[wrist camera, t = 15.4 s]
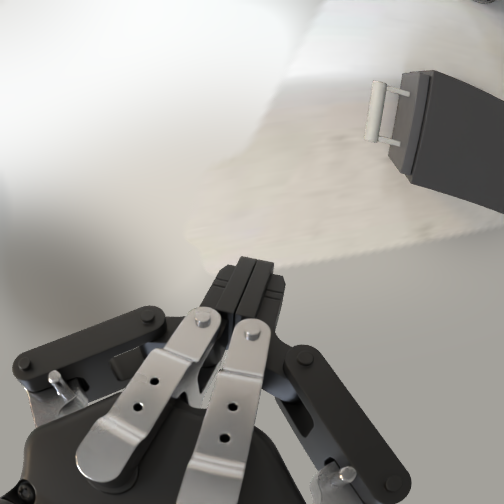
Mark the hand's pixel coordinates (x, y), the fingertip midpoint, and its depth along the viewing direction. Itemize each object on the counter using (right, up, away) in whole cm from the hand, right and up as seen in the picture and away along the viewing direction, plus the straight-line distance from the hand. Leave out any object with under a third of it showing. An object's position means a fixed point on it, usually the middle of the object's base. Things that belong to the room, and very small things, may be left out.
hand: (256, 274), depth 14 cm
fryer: (+26, +17, +17) cm, 35 cm away
